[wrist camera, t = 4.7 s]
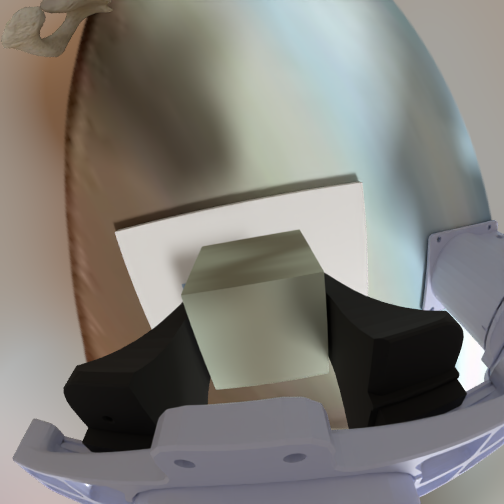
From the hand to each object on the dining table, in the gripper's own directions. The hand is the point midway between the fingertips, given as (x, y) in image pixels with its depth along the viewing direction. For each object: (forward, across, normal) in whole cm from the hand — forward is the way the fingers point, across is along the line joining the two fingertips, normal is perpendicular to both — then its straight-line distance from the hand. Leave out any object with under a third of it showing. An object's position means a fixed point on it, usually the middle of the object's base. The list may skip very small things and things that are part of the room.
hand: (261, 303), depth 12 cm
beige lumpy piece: (+9, +10, -22) cm, 26 cm away
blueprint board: (+8, +1, +4) cm, 9 cm away
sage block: (+2, 0, 0) cm, 2 cm away
